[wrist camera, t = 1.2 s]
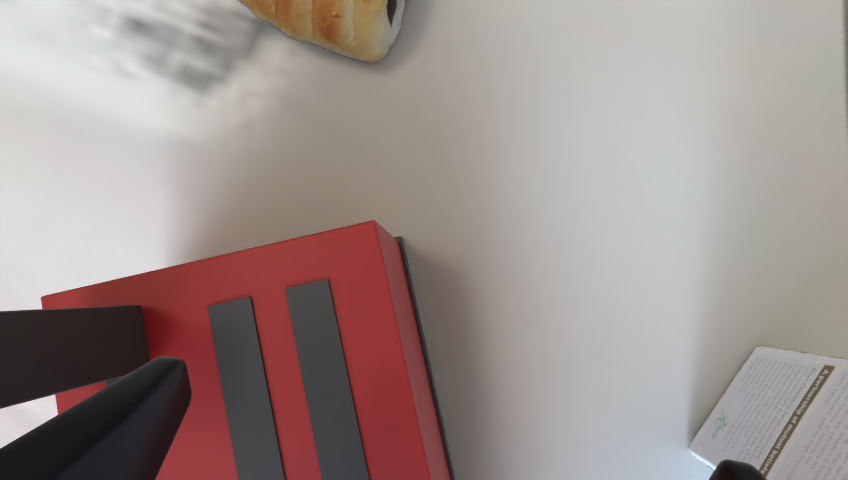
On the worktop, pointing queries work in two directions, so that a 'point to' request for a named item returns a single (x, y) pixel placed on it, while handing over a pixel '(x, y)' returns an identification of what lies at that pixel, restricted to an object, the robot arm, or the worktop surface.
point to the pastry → (336, 23)
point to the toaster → (290, 360)
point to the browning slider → (67, 349)
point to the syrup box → (782, 417)
